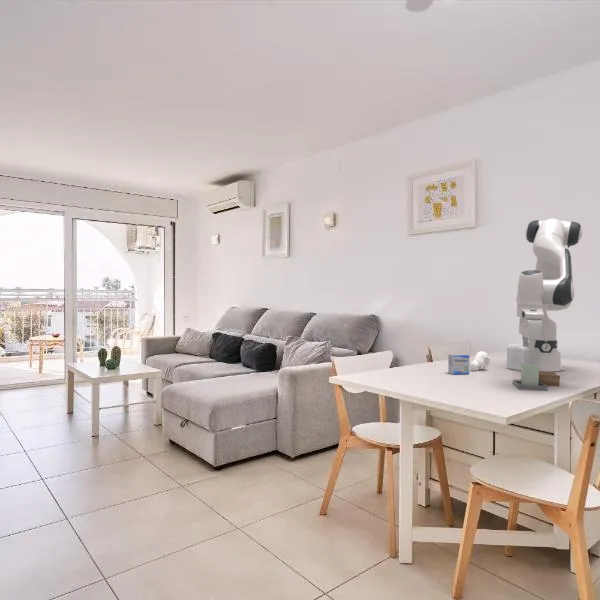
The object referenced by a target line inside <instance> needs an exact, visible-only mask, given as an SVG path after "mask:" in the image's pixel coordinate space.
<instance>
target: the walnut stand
mask: <svg viewBox="0 0 600 600" xmlns="http://www.w3.org/2000/svg"><path fill="white" fill-rule="evenodd" d="M560 377H561V376H560V375H559V374H557V373H555V371H539V382H542V383H543V384H544V385H546V386H547V387H549V386H551V387H560V385H561V383H560Z"/></svg>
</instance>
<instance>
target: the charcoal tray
mask: <svg viewBox="0 0 600 600" xmlns="http://www.w3.org/2000/svg"><path fill="white" fill-rule="evenodd" d="M512 385H513V386H514V387H515V388H517V390H526V389H527V390H529V391H530V390H531V391H544V392H545V391H547V392H548V387H549V386H548V385H544V384H543V383H542V382H538V386H530V385H521V380H517V379H515V380H514V379H513V380H512Z"/></svg>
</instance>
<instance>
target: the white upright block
mask: <svg viewBox="0 0 600 600" xmlns="http://www.w3.org/2000/svg"><path fill="white" fill-rule="evenodd" d="M506 348H507V349H506V369H508V370H514V371H519V372H521V364H529V349H528V347H524V346H523V343H510V344H508V346H507V347H506Z"/></svg>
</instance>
